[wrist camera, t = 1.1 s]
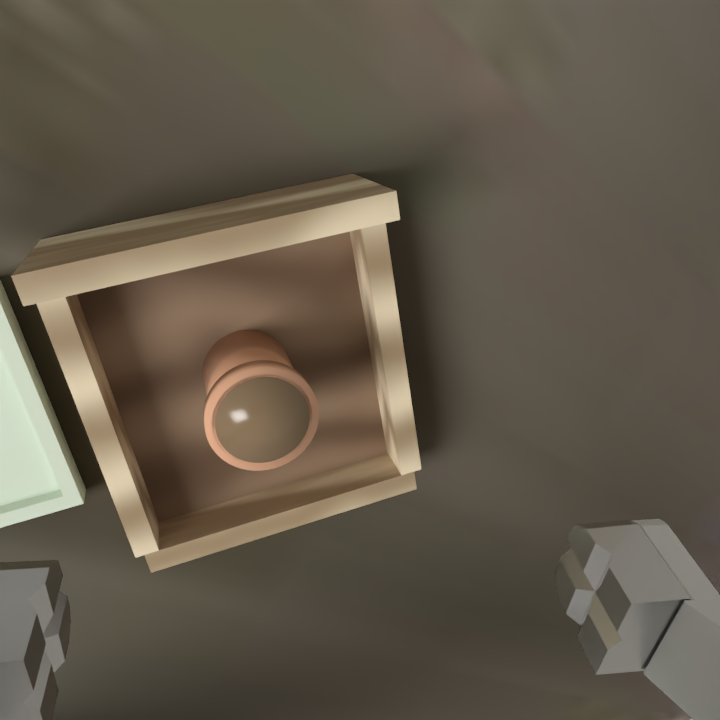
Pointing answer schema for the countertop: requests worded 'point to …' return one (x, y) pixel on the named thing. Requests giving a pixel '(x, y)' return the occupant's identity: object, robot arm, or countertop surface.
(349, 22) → the countertop surface
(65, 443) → the sage tray
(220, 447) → the seedling pot
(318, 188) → the wooden box
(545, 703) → the countertop surface
